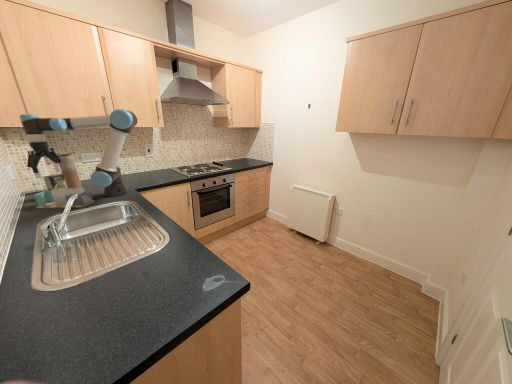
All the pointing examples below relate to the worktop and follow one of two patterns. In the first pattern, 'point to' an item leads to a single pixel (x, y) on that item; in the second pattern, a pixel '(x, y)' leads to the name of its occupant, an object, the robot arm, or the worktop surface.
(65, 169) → the vase
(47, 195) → the socket
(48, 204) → the board
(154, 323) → the worktop surface
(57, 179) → the coffee box
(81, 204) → the sleeve
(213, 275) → the worktop surface
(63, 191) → the tube
